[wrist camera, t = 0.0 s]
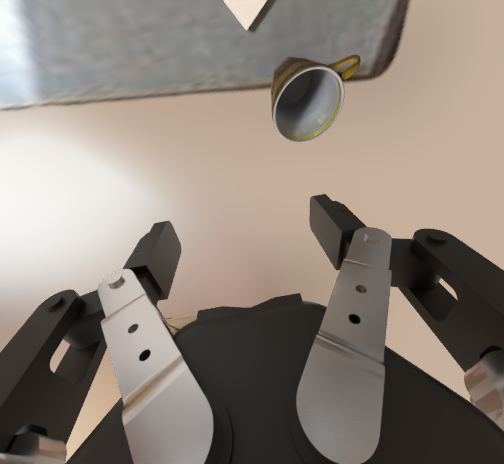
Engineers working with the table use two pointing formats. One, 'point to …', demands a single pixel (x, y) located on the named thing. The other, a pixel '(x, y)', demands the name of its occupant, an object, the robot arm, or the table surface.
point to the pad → (245, 10)
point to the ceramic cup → (308, 97)
